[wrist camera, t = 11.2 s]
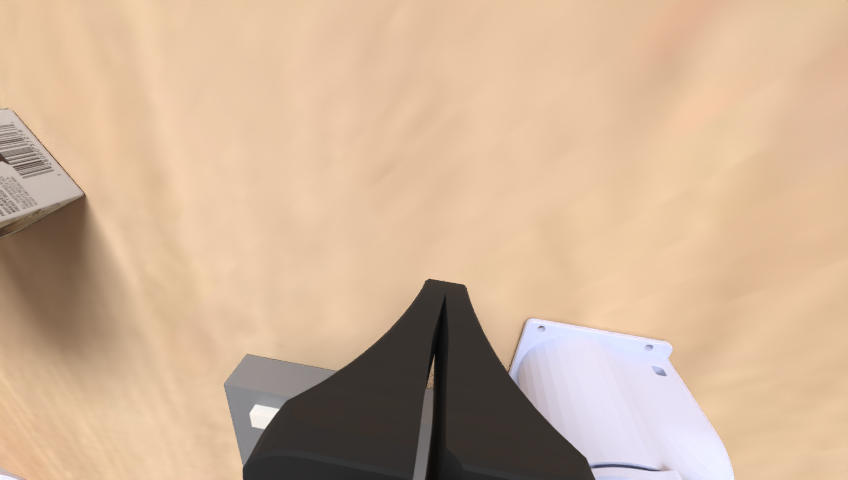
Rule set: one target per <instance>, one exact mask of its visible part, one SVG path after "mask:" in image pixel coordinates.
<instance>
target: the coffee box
mask: <svg viewBox="0 0 848 480" xmlns="http://www.w3.org/2000/svg"><path fill="white" fill-rule="evenodd" d="M83 195H84V193H83V192H82V190H81V189H80V188H79V187H78V186H77V185H76V183H75V182H74V181H73V180H72V179H71V178H70V177H69V175H68V174H67V173H66V172H65V171H64V170H63V169H62V167H61V166H60V165H59V164H58V163H57V162H56V160H55V159H54V158H53V157H52V156H51V155H50V154H49V152H48V151H47V150H46V149H45V148H44V147H43V145H42V144H41V143H40V142H39V141H38V140H37V138H36V137H35V136H34V135H33V134H32V133H31V131H30V130H29V129H28V128H27V127H26V126H25V124H24V123H23V122H22V121H21V120H20V119H19V117H18V116H17V115H16V114H15V113H14V112H13V111H12V110H11V109H8V108H3V109H0V239H2V238H5V237H7V236H10V235H12V234H14V233H16V232H18V231H20V230H22V229H24V228H26V227H27V226H29V225H31V224H33V223H34V222H36V221H38V220H40V219H42V218H43V217H45V216H47V215H49V214H51V213H53V212H54V211H56V210H58V209H60V208H62V207H63V206H65V205H67V204H69V203H71V202H73V201H74V200H76V199H78V198H80V197H81V196H83Z"/></svg>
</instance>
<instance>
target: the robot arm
mask: <svg viewBox="0 0 848 480" xmlns="http://www.w3.org/2000/svg"><path fill="white" fill-rule="evenodd" d="M539 326H544V327H542V328H538V327H539ZM647 345H649V346H647ZM672 350H673V348H672V346H671V345H670V343H669V342H666V341H662V340H656V339H650V338H644V337H639V336H633V335H627V334H621V333H616V332H610V331H604V330H598V329H592V328H587V327H581V326H575V325H569V324H564V323H558V322H552V321H546V320H541V319H535V318H531V319H529V320H527V321H526V323H525V326H524V329H523V332H522V335H521V338H520V340H519V343H518V346H517V349H516V352H515V355H514V358H513V361H512V364H511V367H510V370H509V373H508V372H507V371H506V369H505V368H504V366H503V365H502V363H501V362H500V360H499V358H498V357H497V355H496V354H495V352H494V350H493V348H492V347H491V345H490V343H489V341H488V339H487V338H486V336H485V334H484V332H483V330H482V327H481V325H480V323H479V321H478V319H477V317H476V314H475V312H474V309H473V307H472V304H471V301H470V298H469V295H468V292H467V288H466V287H465V285H462V284H456V283H451V282H445V281H439V280H433V279H428V280H426V281H425V284H424V286H423V288H422V289H421V291H420V293H419V294H418V296H417V297H416V299H415V300H414V301H413V303H412V304H411V305H410V307H409V308H408V309H407V310H406V312H405V313H404V314H403V315H402V316H401V318H400V319H399V320H398V321H397V322H396V323H395V324H394V325H393V326H392V327H391V329H390V330H389V331H388V332H387V333H386V334H385V335H383V336H382V337H381V338H380V339H379V340H378V341H377V342H376V343H375V344H374V345H372V346H371V347H370V348H369V349H368V350H366V351H365V352H364V353H363V354H361V355H360V356H359V357H358V358H356V359H355V360H354V361H352V362H351V363H350V364H348V365H347V366H345V367H344V368H342V369H341V370H339V371H338V372H336V373H334V374H333V375H331V376H330V377H328V378H327V379H325V380H324V381H322V382H320V383H319V384H317V385H315V386H313V387H311V388H309V389H308V390H306V391H304V392H302V393H300V394H298V395H296V396H295V397H293V398H291V399H289V400H287V401H286V402H285V403H284V404H283V405H282V407H281V408H280V409H279V411H278V412H277V413H276V414H275V416H274V417H273V419H272V420H271V421H270V423H269V424H268V425H267V427H266V428H265V430H264V431H263V433H262V434H261V436H260V438H259V440H258V442H257V443H256V445H255V447H254V449H253V451H252V453H251V454H250V456H249V458H248V460H247V462H246V464H245V465H244V467H243V480H413V476H414V469H415V463H416V456H417V449H418V441H419V433H420V425H421V418H422V410H423V403H424V395H425V391H426V387H427V383H428V378H429V374H430V370H431V366H432V362H433V358H434V354H435V358H434V386H433V414H432V427H431V436H430V444H429V452H428V460H427V467H426V475H425V480H735V479H734V474H733V470H732V466H731V462H730V459H729V457H728V454H727V451H726V449H725V447H724V445H723V443H722V441H721V439H720V437H719V436H718V434H717V433H716V431H715V429H714V428H713V426H712V425H711V423H710V422H709V420H708V419H707V417H706V416H705V414H704V413H703V411H702V410H701V408H700V407H699V405H698V404H697V402H696V400H695V399H694V397H693V396H692V394H691V393H690V391H689V390H688V388H687V387H686V385H685V384H684V382H683V381H682V379H681V378H680V376H679V375H678V373H677V371H676V370H675V368H674V367H673V365H672V364H671V362H670V361H669V359H668V357H669V356H670V354H671V352H672ZM0 480H25V479H24V478H22V477H19V476H16V475H13V474H8V473H3V472H0Z"/></svg>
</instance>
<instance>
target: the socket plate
mask: <svg viewBox="0 0 848 480" xmlns="http://www.w3.org/2000/svg"><path fill="white" fill-rule="evenodd" d="M336 372H338V371H333V370H327V369H322V368H317V367H312V366H306V365H301V364H296V363H290V362H285V361H280V360H274V359H269V358H264V357H259V356H253V355H248V354H247V355H246V356H245V357H244V358H243V360H242V361H241V362H240V364H239V365H238V366H237V367H236V369H235V370H234V371H233V373H232V374H231V375H230V377H229V378H228V379H227V380H226V382H225V383H224V387H225V392H226V396H227V400H228V404H229V409H230V413H231V417H232V421H233V426H234V430H235V434H236V438H237V442H238V447H239V451H240V455H241V459H242V464H243V467H244V465H245V464H246V462H247V460H248V458H249V456H250V454H251V453H252V451H253V449H254V447H255V445H256V443H257V442H258V440H259V438H260V436H261V434H262V433H263V431H264V430H265V428H266V427H267V425H268V424H269V423H270V421H271V420H272V419H273V417H274V416H275V414H276V413H277V412H278V411H279V409H280V408H281V407H282V405H283V404H284V403H285V402H286V401H287V400H289V399H291V398H293V397H295V396H296V395H298V394H300V393H302V392H304V391H306V390H308V389H309V388H311V387H313V386H315V385H317V384H319V383H320V382H322V381H324V380H325V379H327V378H328V377H330V376H331V375H333V374H334V373H336ZM432 414H433V389H428V388H426V391H425V395H424V403H423V410H422V418H421V425H420V433H419V441H418V449H417V456H416V463H415V469H414V476H413V480H425V475H426V467H427V460H428V452H429V444H430V436H431V427H432Z"/></svg>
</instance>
